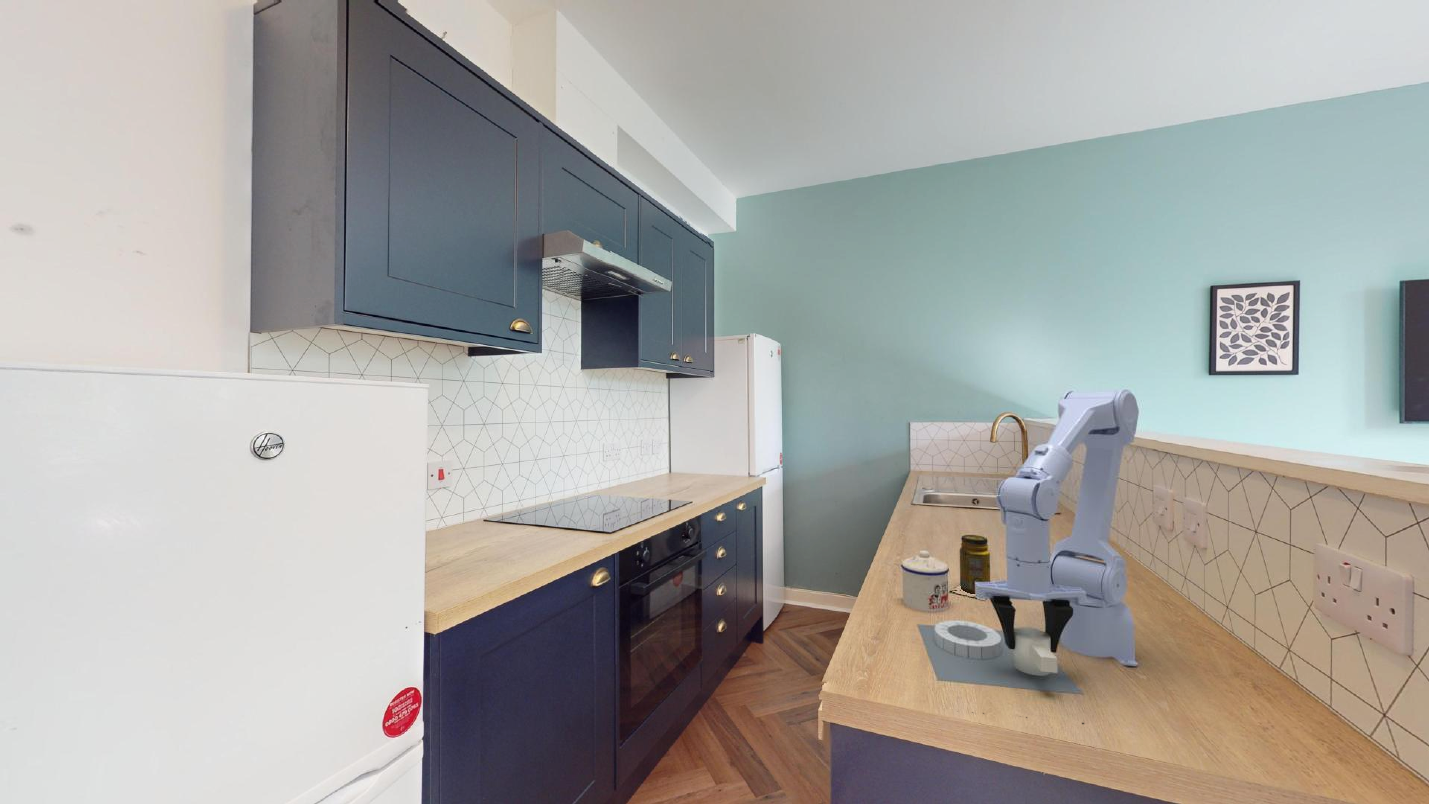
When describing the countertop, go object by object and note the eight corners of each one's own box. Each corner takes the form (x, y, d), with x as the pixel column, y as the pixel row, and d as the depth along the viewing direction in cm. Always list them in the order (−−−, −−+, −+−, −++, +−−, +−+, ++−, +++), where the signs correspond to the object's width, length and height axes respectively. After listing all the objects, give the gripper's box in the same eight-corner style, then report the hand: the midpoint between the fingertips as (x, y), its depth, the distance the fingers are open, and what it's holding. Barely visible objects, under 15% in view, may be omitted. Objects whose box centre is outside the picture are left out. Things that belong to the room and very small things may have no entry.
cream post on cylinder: (1007, 657, 80) (1006, 625, 80) (1042, 660, 79) (1042, 628, 79) (1029, 688, 72) (1029, 652, 72) (1069, 692, 71) (1069, 655, 71)
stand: (1031, 638, 91) (1030, 621, 91) (1084, 701, 72) (1083, 679, 72) (917, 629, 96) (916, 613, 96) (937, 686, 76) (937, 666, 76)
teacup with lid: (936, 621, 99) (935, 560, 99) (893, 608, 106) (892, 551, 106) (964, 605, 107) (962, 548, 107) (921, 593, 114) (920, 540, 114)
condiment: (997, 590, 115) (996, 536, 115) (984, 601, 109) (982, 544, 109) (963, 583, 120) (962, 531, 120) (948, 592, 114) (947, 538, 114)
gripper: (982, 563, 76) (985, 655, 76) (1095, 568, 72) (1098, 665, 72) (970, 549, 83) (972, 635, 82) (1073, 554, 79) (1075, 643, 79)
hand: (1030, 647), depth 78 cm, fingers closed on cream post on cylinder, 5 cm apart
